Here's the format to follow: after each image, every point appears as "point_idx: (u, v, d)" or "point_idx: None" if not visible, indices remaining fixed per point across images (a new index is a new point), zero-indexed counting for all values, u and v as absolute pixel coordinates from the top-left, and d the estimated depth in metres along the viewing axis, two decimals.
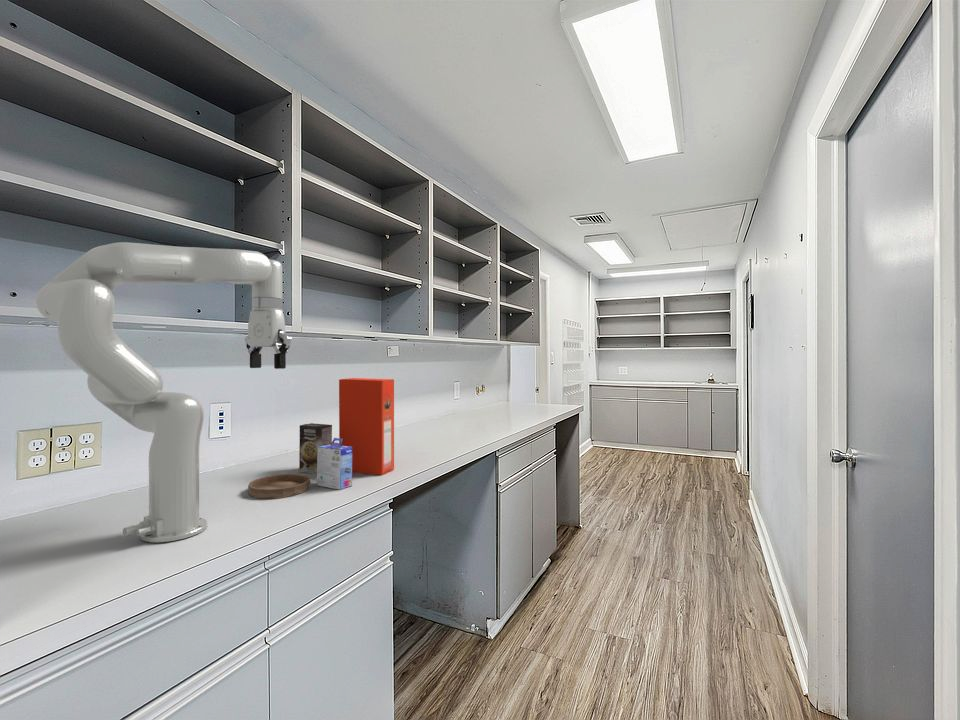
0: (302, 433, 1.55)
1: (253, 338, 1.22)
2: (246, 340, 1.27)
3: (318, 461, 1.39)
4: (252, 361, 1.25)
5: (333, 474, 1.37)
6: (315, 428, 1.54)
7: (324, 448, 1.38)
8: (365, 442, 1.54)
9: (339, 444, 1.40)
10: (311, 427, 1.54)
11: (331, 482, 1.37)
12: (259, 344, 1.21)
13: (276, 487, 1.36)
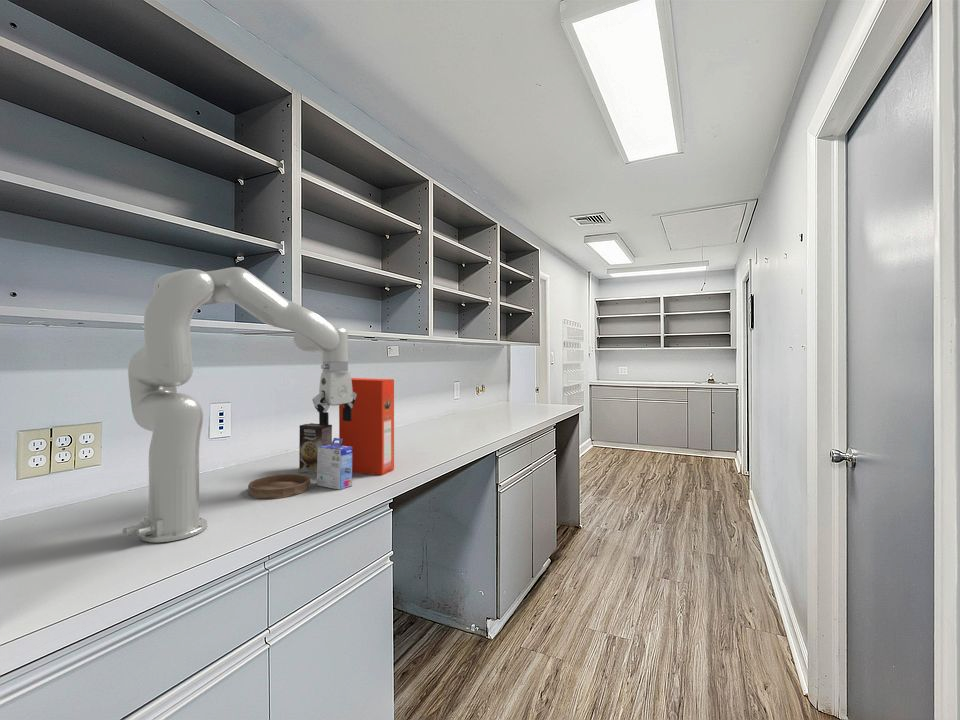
0: (302, 433, 1.55)
1: (337, 398, 1.37)
2: (317, 401, 1.32)
3: (318, 461, 1.39)
4: None
5: (333, 474, 1.37)
6: (315, 428, 1.54)
7: (324, 448, 1.38)
8: (365, 442, 1.54)
9: (339, 444, 1.40)
10: (311, 427, 1.54)
11: (331, 482, 1.37)
12: (343, 402, 1.39)
13: (276, 487, 1.36)
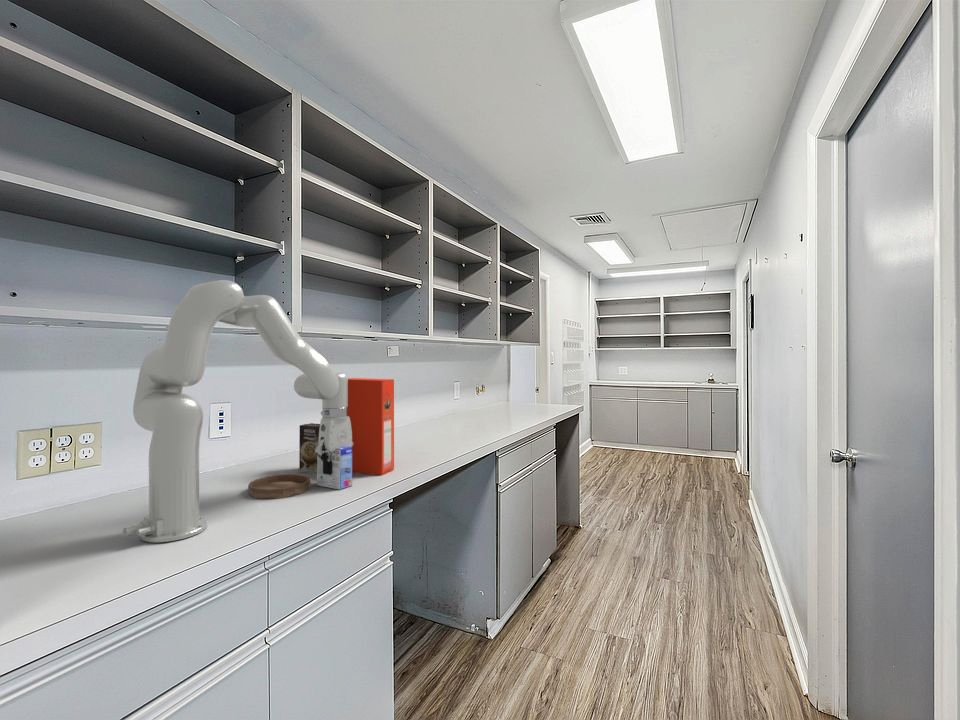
0: (302, 433, 1.55)
1: (337, 444, 1.37)
2: (320, 452, 1.33)
3: (318, 461, 1.39)
4: None
5: (333, 474, 1.37)
6: (315, 428, 1.54)
7: None
8: (365, 442, 1.54)
9: None
10: (311, 427, 1.54)
11: (331, 482, 1.37)
12: None
13: (276, 487, 1.36)
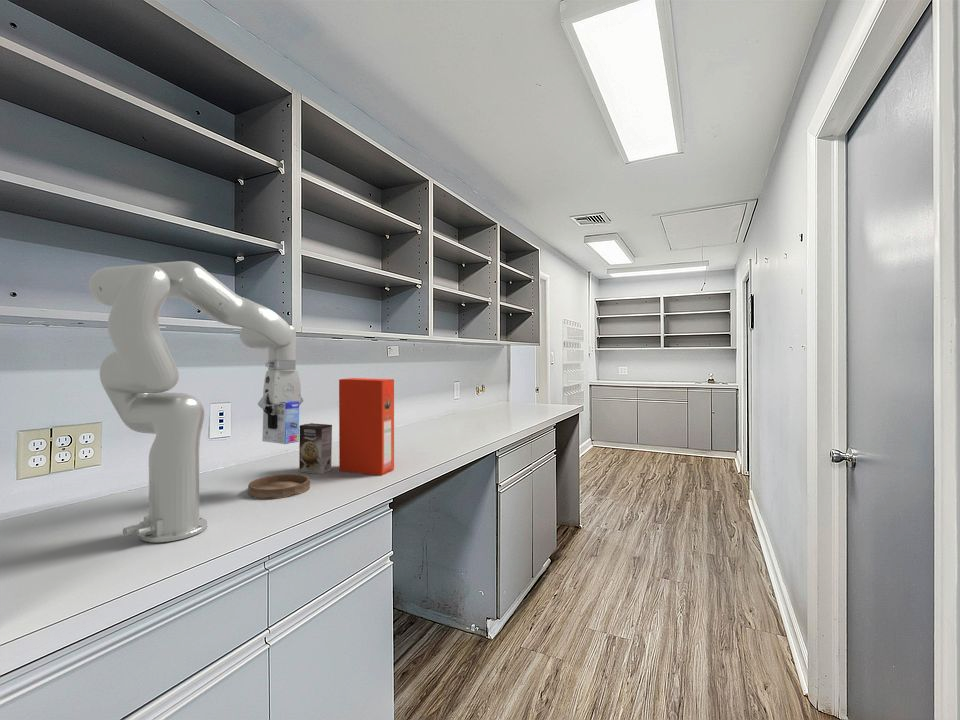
0: (302, 433, 1.55)
1: (282, 397, 1.32)
2: (263, 404, 1.29)
3: (263, 416, 1.34)
4: None
5: (277, 428, 1.32)
6: (315, 428, 1.54)
7: None
8: (365, 442, 1.54)
9: None
10: (311, 427, 1.54)
11: (276, 437, 1.32)
12: None
13: (276, 487, 1.36)
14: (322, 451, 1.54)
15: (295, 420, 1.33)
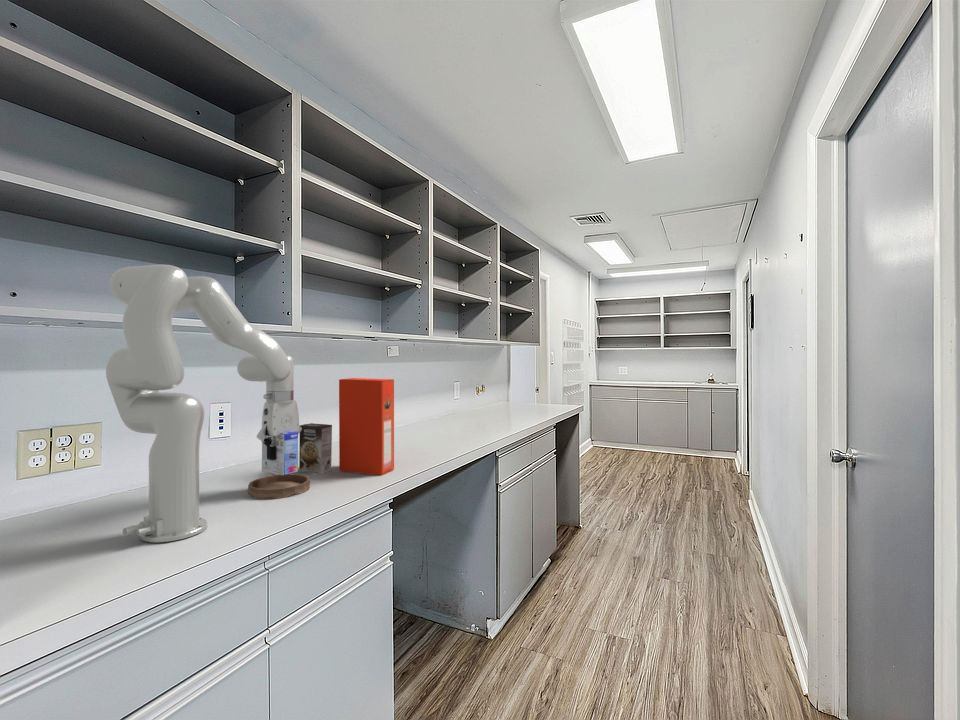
0: (302, 433, 1.55)
1: (281, 428, 1.32)
2: (262, 437, 1.29)
3: (262, 446, 1.35)
4: None
5: (277, 459, 1.32)
6: (315, 428, 1.54)
7: None
8: (365, 442, 1.54)
9: None
10: (311, 427, 1.54)
11: (275, 468, 1.32)
12: None
13: (276, 487, 1.36)
14: (322, 451, 1.54)
15: (294, 451, 1.34)
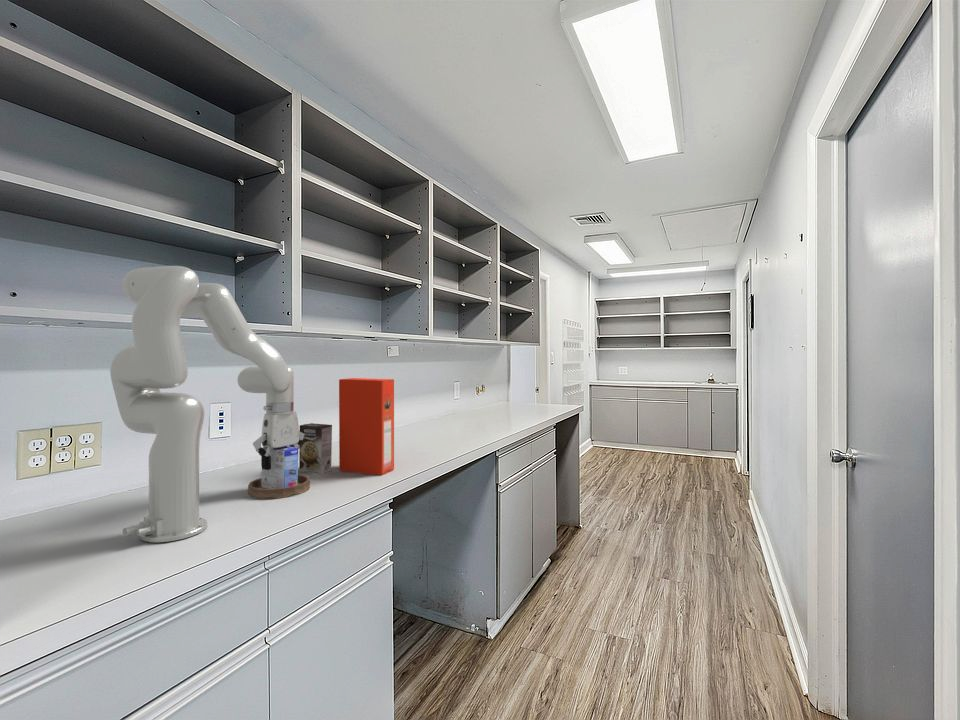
0: None
1: (281, 440, 1.32)
2: (258, 445, 1.28)
3: None
4: None
5: (276, 476, 1.32)
6: (315, 428, 1.54)
7: None
8: (365, 442, 1.54)
9: None
10: (311, 427, 1.54)
11: (275, 484, 1.32)
12: (287, 444, 1.34)
13: None
14: (322, 451, 1.54)
15: (294, 467, 1.34)
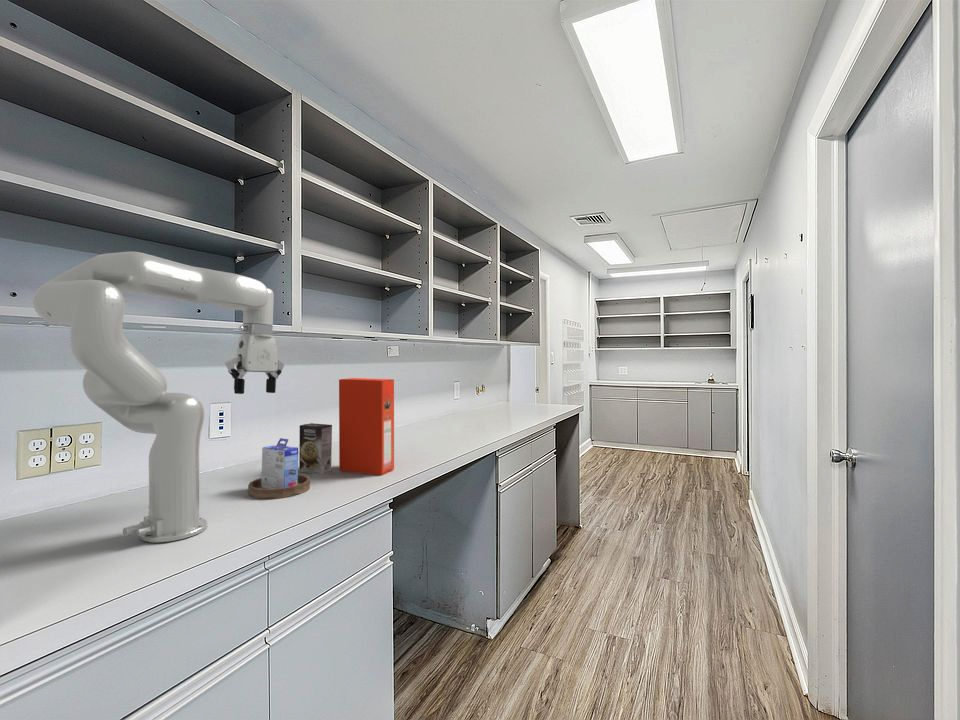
0: (302, 433, 1.55)
1: (256, 363, 1.23)
2: (231, 364, 1.18)
3: (262, 462, 1.35)
4: None
5: (276, 476, 1.32)
6: (315, 428, 1.54)
7: (268, 449, 1.34)
8: (365, 442, 1.54)
9: (284, 445, 1.35)
10: (311, 427, 1.54)
11: (275, 484, 1.32)
12: (264, 370, 1.25)
13: None
14: (322, 451, 1.54)
15: (294, 467, 1.34)
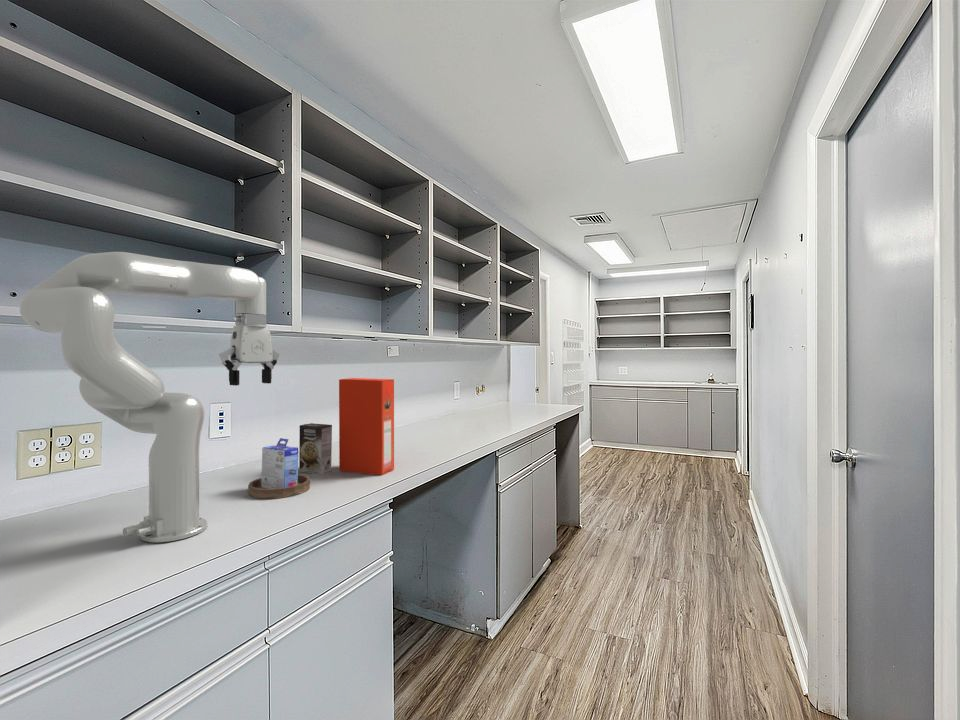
0: (302, 433, 1.55)
1: (251, 354, 1.21)
2: (224, 356, 1.17)
3: (262, 462, 1.35)
4: None
5: (276, 476, 1.32)
6: (315, 428, 1.54)
7: (268, 449, 1.34)
8: (365, 442, 1.54)
9: (284, 445, 1.35)
10: (311, 427, 1.54)
11: (275, 484, 1.32)
12: (259, 360, 1.23)
13: None
14: (322, 451, 1.54)
15: (294, 467, 1.34)
